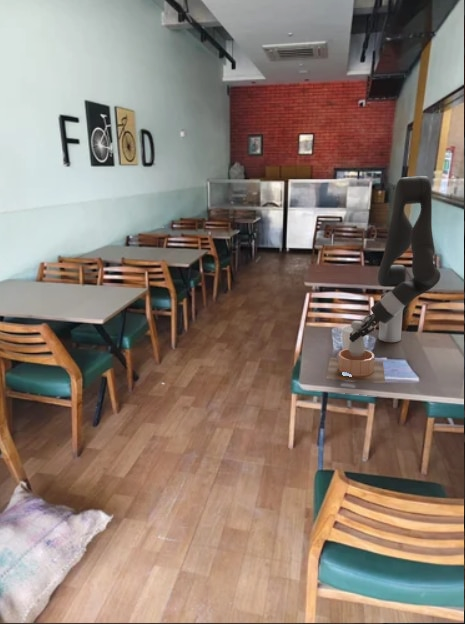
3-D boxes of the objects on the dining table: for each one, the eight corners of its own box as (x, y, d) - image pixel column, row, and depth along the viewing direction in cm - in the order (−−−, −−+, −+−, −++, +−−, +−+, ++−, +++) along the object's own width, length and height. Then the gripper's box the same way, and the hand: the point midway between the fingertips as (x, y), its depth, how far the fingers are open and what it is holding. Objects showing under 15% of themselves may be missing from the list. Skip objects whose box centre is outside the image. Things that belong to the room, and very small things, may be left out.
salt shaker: (365, 358, 154) (366, 324, 150) (348, 358, 155) (349, 324, 151) (364, 352, 159) (365, 319, 156) (348, 352, 160) (348, 319, 157)
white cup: (342, 355, 175) (343, 332, 172) (340, 348, 182) (341, 326, 180) (362, 355, 174) (363, 332, 171) (359, 348, 181) (360, 325, 178)
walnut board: (329, 359, 171) (330, 357, 171) (382, 362, 165) (382, 361, 165) (326, 380, 153) (326, 378, 152) (385, 385, 147) (385, 383, 147)
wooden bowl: (339, 361, 166) (339, 347, 165) (373, 364, 163) (373, 349, 161) (337, 375, 155) (337, 359, 153) (373, 378, 151) (374, 362, 150)
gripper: (379, 295, 156) (344, 325, 163) (381, 304, 143) (342, 337, 150) (394, 309, 156) (358, 339, 162) (397, 320, 143) (358, 352, 150)
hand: (351, 338), depth 156 cm, fingers closed on salt shaker, 3 cm apart
